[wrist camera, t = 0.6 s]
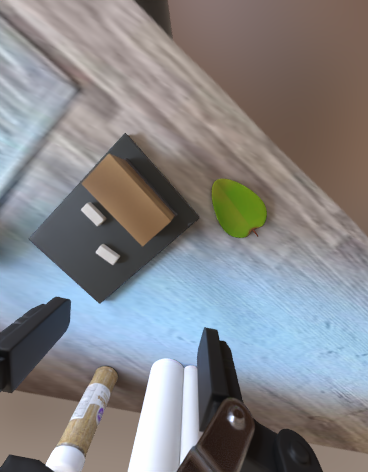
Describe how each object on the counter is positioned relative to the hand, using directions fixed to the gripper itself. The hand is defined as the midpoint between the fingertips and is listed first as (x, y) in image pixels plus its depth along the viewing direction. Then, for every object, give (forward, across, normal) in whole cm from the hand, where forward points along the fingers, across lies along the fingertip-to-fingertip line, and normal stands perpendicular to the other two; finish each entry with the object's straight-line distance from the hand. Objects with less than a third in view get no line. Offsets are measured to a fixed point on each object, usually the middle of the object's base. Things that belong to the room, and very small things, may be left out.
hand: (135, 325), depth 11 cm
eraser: (+17, +5, -5) cm, 19 cm away
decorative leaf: (+19, -9, -6) cm, 21 cm away
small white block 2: (+17, +9, +4) cm, 20 cm away
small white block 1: (+17, +11, -2) cm, 21 cm away
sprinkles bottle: (+19, +7, +30) cm, 36 cm away
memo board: (+19, +9, 0) cm, 21 cm away
